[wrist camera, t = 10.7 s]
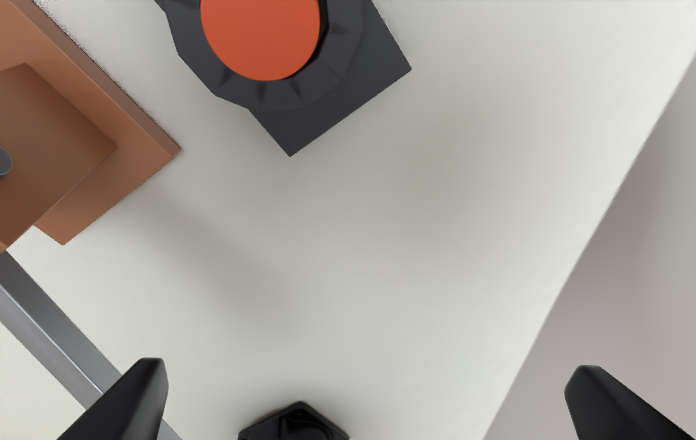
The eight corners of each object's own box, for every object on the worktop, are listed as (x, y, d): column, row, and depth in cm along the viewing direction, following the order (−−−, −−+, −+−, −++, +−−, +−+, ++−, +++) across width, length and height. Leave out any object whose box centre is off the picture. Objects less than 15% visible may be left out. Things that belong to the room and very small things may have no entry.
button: (340, 28, 14) (343, 35, 13) (262, 89, 15) (256, 103, 14) (272, -76, 13) (266, -82, 11) (189, 0, 14) (173, 5, 12)
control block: (405, 62, 18) (423, 81, 15) (291, 145, 20) (286, 177, 17) (250, -197, 13) (232, -243, 10) (118, -60, 15) (70, -66, 12)
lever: (282, 466, 16) (263, 528, 14) (191, 508, 17) (160, 571, 15) (-20, 121, 13) (-108, 127, 11) (-103, 204, 14) (-197, 226, 12)
